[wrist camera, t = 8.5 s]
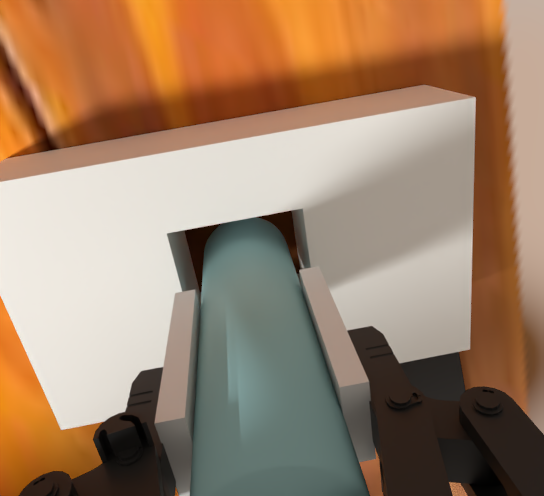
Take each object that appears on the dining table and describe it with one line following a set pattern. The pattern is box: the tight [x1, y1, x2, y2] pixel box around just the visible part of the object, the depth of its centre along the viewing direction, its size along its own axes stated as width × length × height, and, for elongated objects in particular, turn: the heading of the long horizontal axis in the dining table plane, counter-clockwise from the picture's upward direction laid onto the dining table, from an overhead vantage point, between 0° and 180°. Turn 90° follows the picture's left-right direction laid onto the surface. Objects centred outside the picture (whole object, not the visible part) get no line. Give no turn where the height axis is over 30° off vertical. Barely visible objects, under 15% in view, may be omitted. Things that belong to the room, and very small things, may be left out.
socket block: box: [0, 85, 476, 430], centre depth 23 cm, size 20×12×5 cm, turn 99°
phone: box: [399, 352, 465, 401], centre depth 31 cm, size 7×1×15 cm
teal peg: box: [190, 217, 370, 496], centre depth 17 cm, size 4×4×14 cm
